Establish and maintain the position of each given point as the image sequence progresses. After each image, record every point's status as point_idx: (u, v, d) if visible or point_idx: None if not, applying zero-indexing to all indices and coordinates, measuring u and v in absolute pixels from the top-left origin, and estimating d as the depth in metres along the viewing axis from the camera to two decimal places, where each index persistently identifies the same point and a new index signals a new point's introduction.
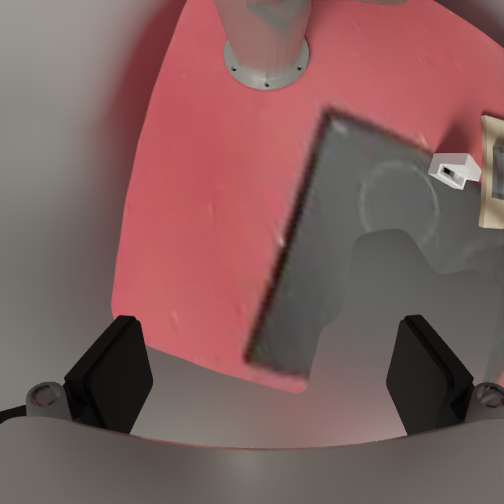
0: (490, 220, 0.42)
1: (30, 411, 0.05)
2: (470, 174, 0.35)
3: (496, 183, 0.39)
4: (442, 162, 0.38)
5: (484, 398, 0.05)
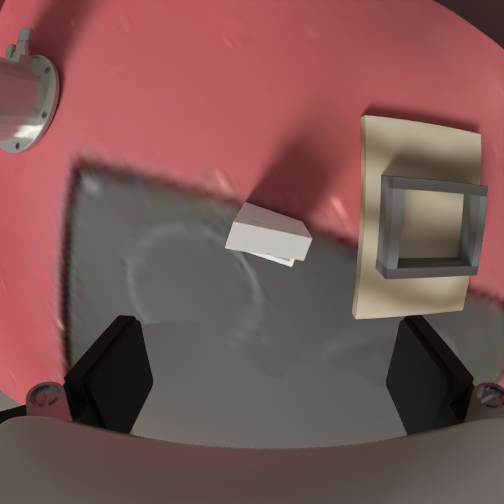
0: (373, 306, 0.30)
1: (30, 411, 0.05)
2: None
3: (381, 246, 0.27)
4: None
5: (484, 398, 0.05)
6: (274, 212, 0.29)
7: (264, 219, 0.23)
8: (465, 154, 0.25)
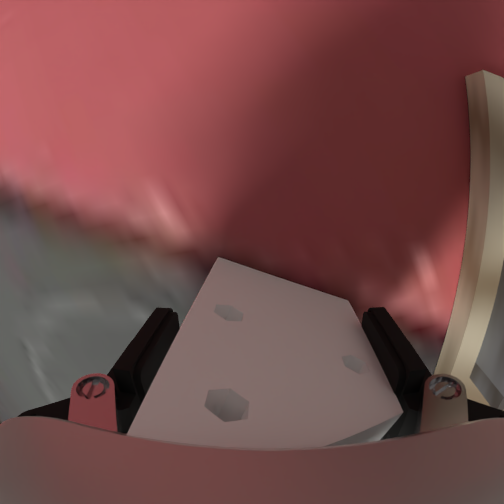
0: None
1: (79, 404, 0.06)
2: None
3: (496, 348, 0.10)
4: None
5: (438, 390, 0.06)
6: (287, 283, 0.12)
7: (260, 357, 0.07)
8: None
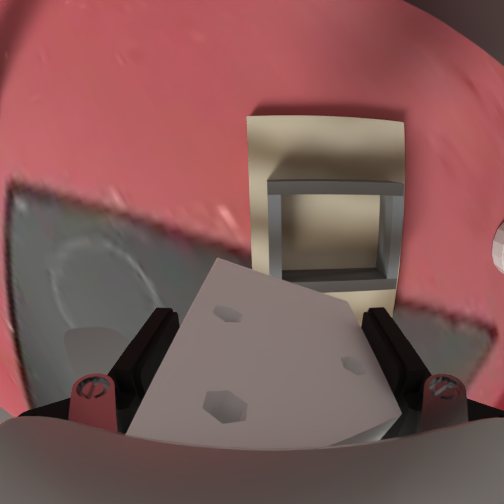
0: None
1: (79, 404, 0.06)
2: None
3: None
4: None
5: (437, 390, 0.06)
6: (286, 284, 0.12)
7: (259, 358, 0.07)
8: (380, 147, 0.24)
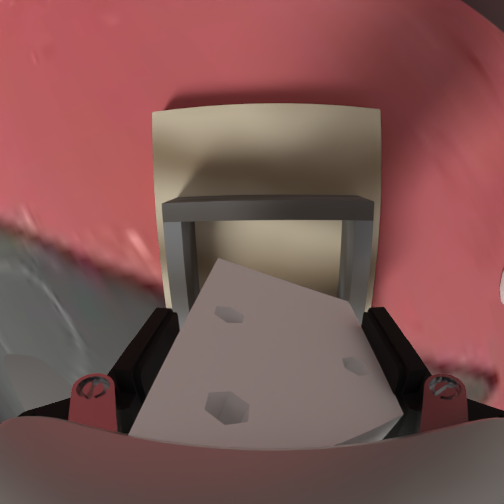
0: None
1: (79, 404, 0.06)
2: None
3: None
4: None
5: (437, 390, 0.06)
6: (287, 285, 0.12)
7: (261, 359, 0.07)
8: (344, 146, 0.17)
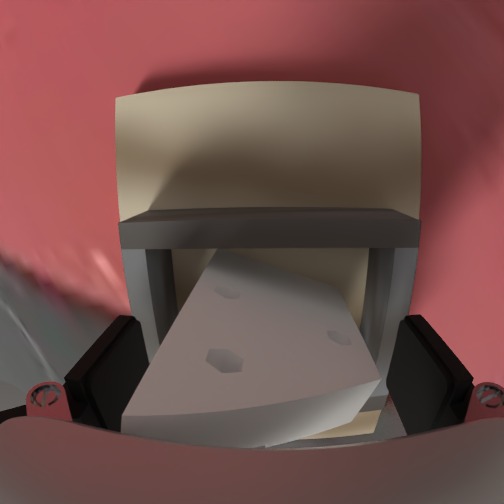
0: None
1: (30, 411, 0.05)
2: None
3: None
4: None
5: (484, 398, 0.05)
6: (280, 271, 0.13)
7: (254, 327, 0.08)
8: (374, 141, 0.12)
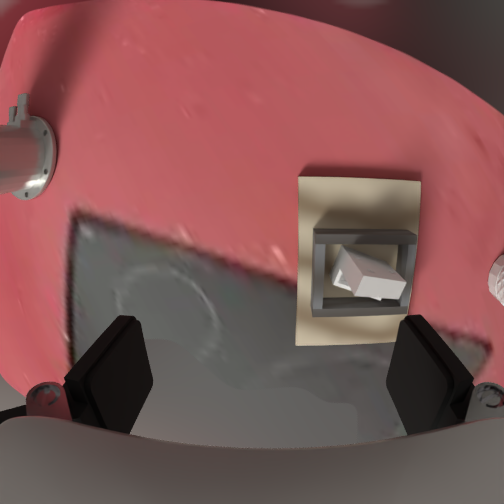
0: (310, 336, 0.36)
1: (30, 411, 0.05)
2: None
3: (312, 289, 0.33)
4: (341, 268, 0.30)
5: (484, 398, 0.05)
6: (365, 254, 0.32)
7: (370, 266, 0.27)
8: (401, 203, 0.31)
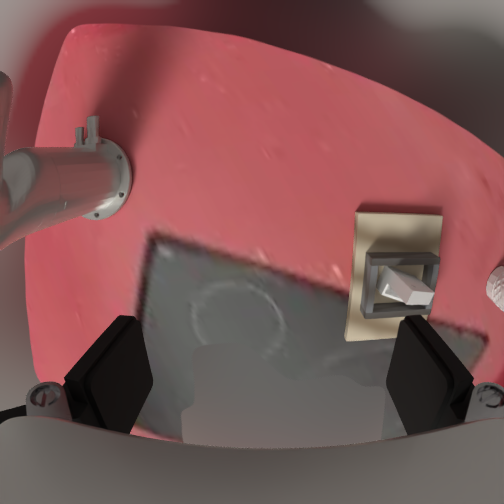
0: (358, 333, 0.45)
1: (30, 411, 0.05)
2: None
3: (363, 297, 0.42)
4: (389, 283, 0.39)
5: (484, 398, 0.05)
6: (401, 270, 0.41)
7: (411, 282, 0.36)
8: (428, 232, 0.40)
